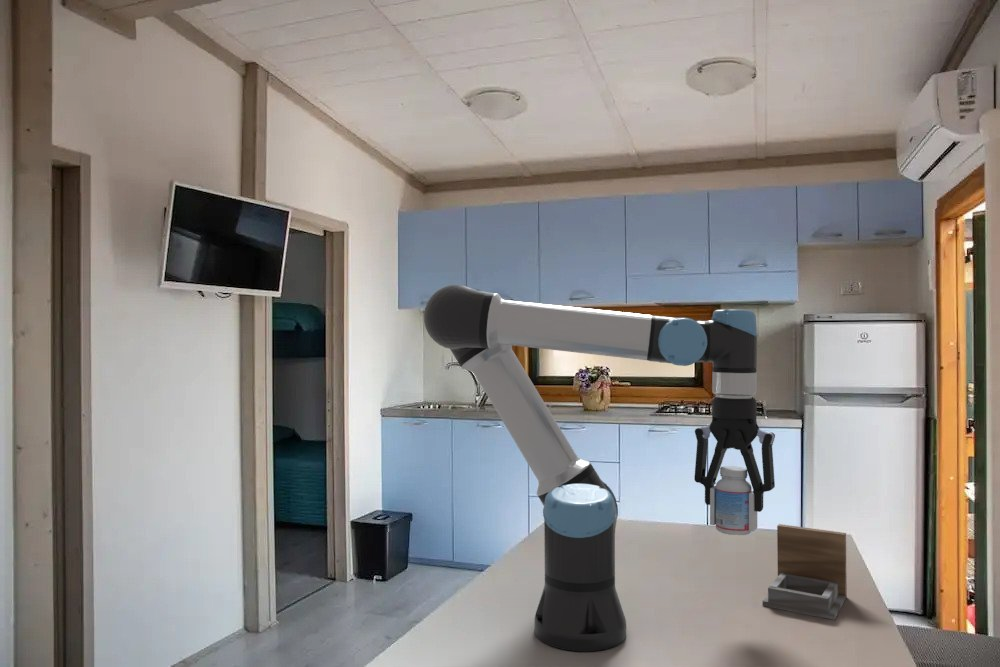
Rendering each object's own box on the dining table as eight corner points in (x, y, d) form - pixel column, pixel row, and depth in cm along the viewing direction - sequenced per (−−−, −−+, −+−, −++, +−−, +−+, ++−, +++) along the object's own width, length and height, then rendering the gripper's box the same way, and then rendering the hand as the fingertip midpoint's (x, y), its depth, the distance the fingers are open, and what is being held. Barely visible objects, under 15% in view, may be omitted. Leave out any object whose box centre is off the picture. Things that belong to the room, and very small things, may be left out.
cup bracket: (834, 619, 123) (833, 550, 123) (762, 605, 130) (761, 539, 130) (846, 597, 134) (845, 533, 134) (779, 585, 140) (779, 524, 141)
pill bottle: (753, 537, 123) (754, 472, 123) (717, 534, 124) (717, 470, 124) (748, 528, 129) (749, 466, 129) (713, 526, 130) (714, 464, 130)
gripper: (795, 397, 125) (795, 530, 124) (689, 392, 135) (688, 514, 135) (785, 400, 118) (784, 540, 118) (674, 394, 129) (674, 522, 129)
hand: (733, 526), depth 127 cm, fingers closed on pill bottle, 6 cm apart
